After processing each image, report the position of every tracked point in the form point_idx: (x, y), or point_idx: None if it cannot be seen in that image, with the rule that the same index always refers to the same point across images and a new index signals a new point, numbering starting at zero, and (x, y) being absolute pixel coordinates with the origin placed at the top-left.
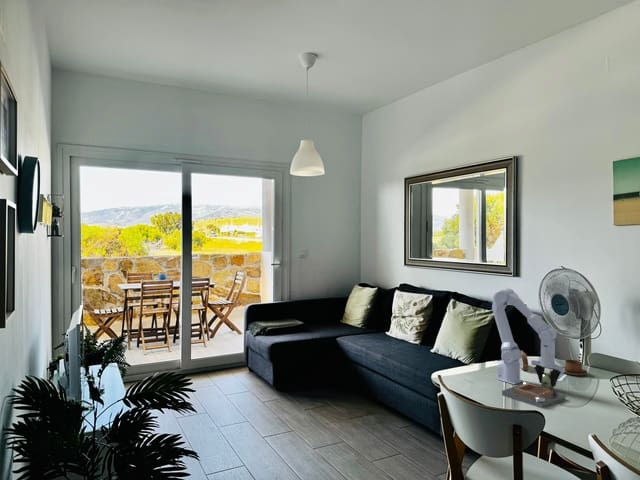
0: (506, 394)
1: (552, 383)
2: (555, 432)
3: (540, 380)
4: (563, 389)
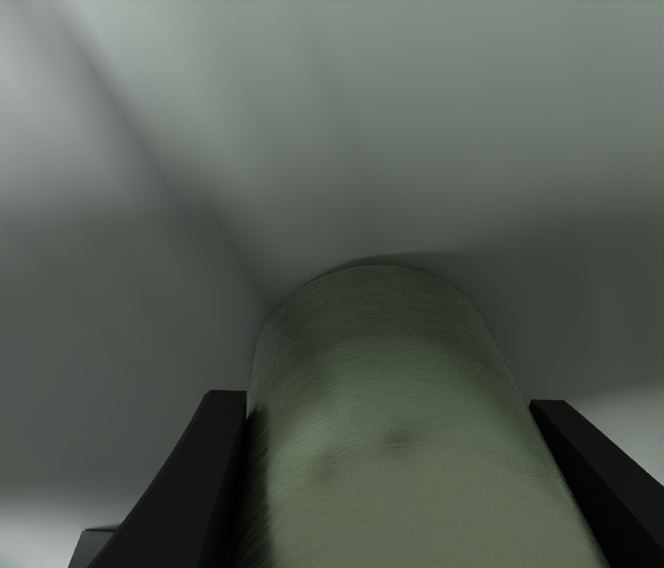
0: None
1: None
2: None
3: None
4: (648, 77)
